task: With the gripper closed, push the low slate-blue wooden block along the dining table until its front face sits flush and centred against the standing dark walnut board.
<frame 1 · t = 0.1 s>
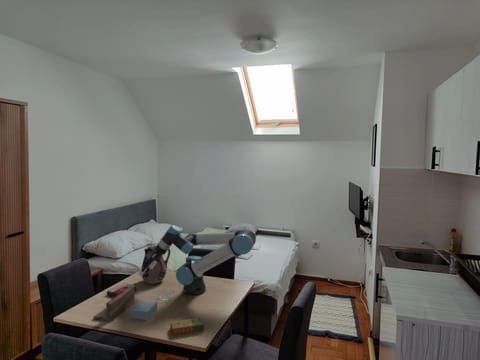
hand: (145, 271, 213), 15 cm above the table, tool tilted 35°, fingers open, 13 cm apart
slate block: (144, 314, 186), on the table
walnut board: (121, 311, 189), on the table
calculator: (121, 293, 216), on the table
carton: (187, 331, 169), on the table
ceramic pitcher: (156, 281, 238), on the table
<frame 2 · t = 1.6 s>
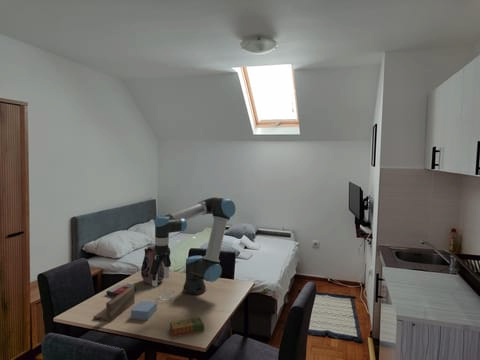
hand: (160, 281, 184), 19 cm above the table, tool pointing down, fingers open, 13 cm apart
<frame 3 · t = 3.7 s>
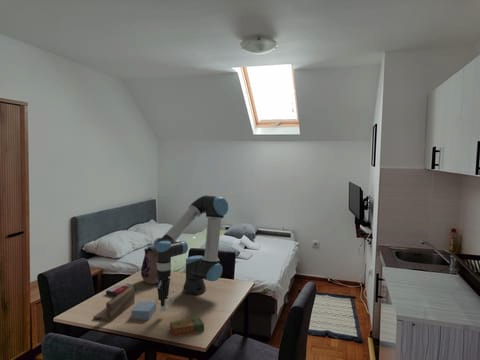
hand: (163, 310, 183), 3 cm above the table, tool pointing down, fingers closed
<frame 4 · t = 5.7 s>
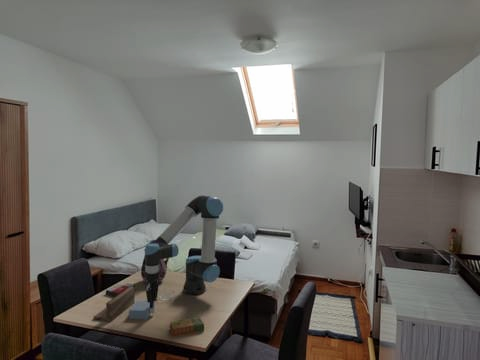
hand: (152, 312, 185), 1 cm above the table, tool pointing down, fingers closed
slate block: (141, 314, 187), on the table, touching gripper
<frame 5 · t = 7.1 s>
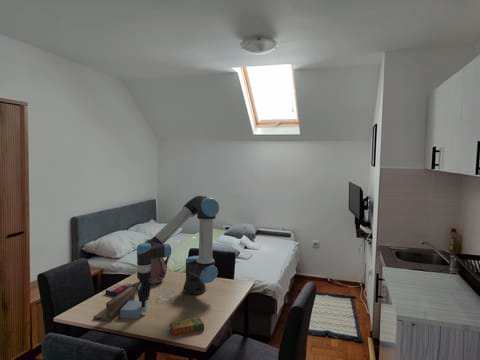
hand: (144, 311, 186), 1 cm above the table, tool pointing down, fingers closed
slate block: (133, 313, 187), on the table
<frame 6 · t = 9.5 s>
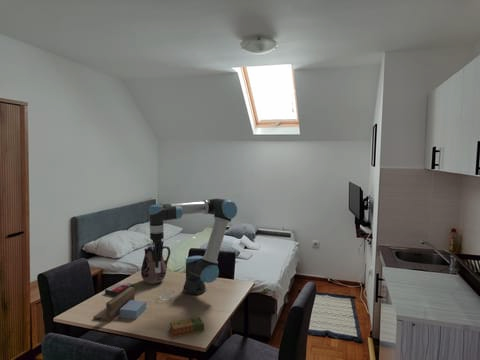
hand: (157, 272, 188), 23 cm above the table, tool pointing down, fingers closed
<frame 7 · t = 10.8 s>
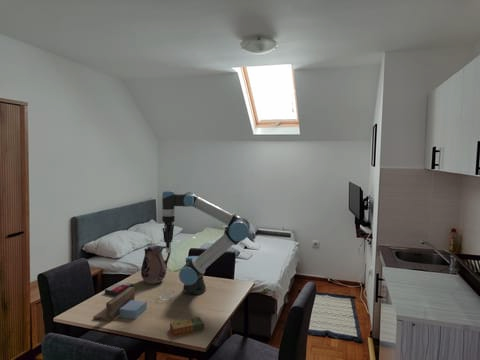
hand: (168, 252, 207), 29 cm above the table, tool pointing down, fingers closed
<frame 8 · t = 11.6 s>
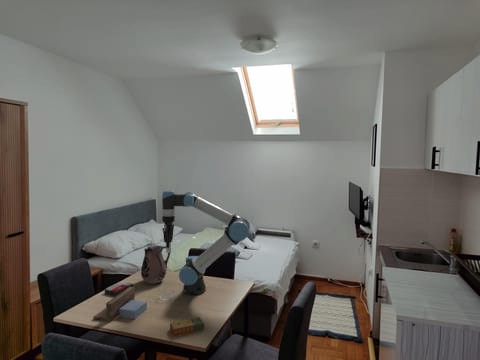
hand: (168, 252, 207), 29 cm above the table, tool pointing down, fingers closed
at the end: slate block 1.0 cm from the target spot on the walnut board, point 0.0 cm above the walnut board's base; slate block tilted 0° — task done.
